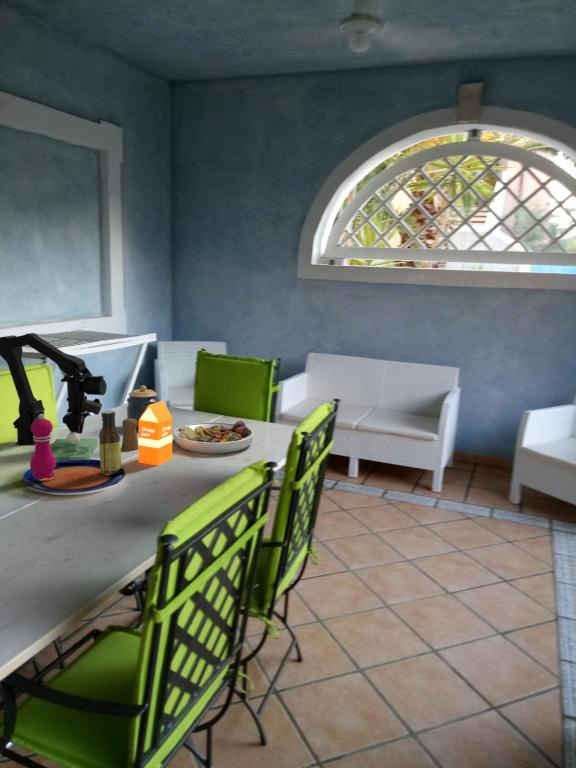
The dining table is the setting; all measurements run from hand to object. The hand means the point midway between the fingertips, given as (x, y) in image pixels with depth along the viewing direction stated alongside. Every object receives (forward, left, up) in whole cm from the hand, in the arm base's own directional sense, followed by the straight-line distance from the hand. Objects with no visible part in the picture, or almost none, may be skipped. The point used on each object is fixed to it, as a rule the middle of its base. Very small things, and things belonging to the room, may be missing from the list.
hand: (78, 436), depth 206 cm
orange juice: (+28, -18, -4) cm, 34 cm away
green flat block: (-1, -10, -4) cm, 11 cm away
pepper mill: (-4, -34, -4) cm, 35 cm away
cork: (+18, -3, -4) cm, 19 cm away
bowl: (+49, +2, -4) cm, 49 cm away
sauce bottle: (+15, -30, -4) cm, 34 cm away
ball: (0, -7, +1) cm, 7 cm away
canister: (+20, +27, -4) cm, 34 cm away
